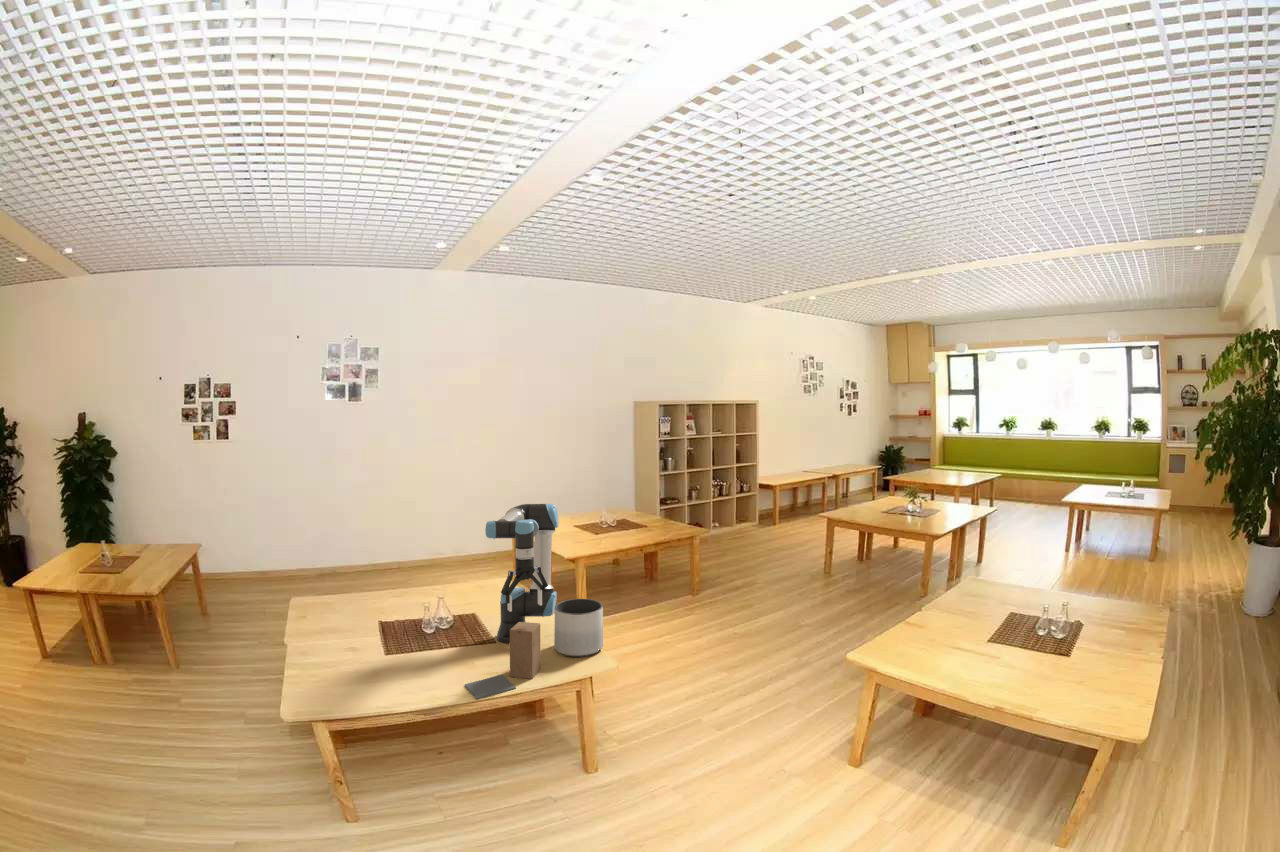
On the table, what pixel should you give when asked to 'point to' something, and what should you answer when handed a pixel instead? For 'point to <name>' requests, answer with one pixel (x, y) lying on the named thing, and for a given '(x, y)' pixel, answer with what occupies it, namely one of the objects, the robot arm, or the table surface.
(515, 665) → the wooden block
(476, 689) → the mat
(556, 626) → the planter
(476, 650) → the table surface
